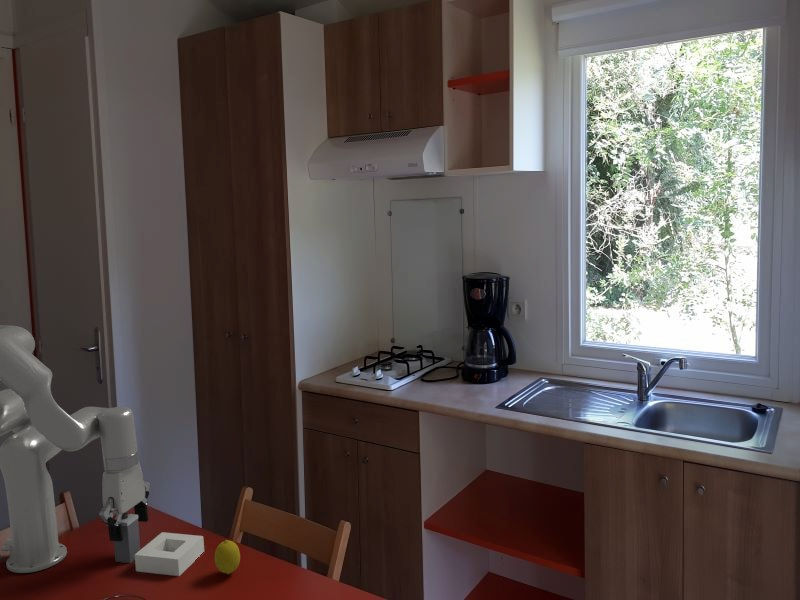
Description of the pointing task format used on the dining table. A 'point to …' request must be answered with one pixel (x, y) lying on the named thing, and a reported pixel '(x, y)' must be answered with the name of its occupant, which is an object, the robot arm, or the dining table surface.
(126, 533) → the plug
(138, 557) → the socket
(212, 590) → the dining table surface
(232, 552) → the lemon
